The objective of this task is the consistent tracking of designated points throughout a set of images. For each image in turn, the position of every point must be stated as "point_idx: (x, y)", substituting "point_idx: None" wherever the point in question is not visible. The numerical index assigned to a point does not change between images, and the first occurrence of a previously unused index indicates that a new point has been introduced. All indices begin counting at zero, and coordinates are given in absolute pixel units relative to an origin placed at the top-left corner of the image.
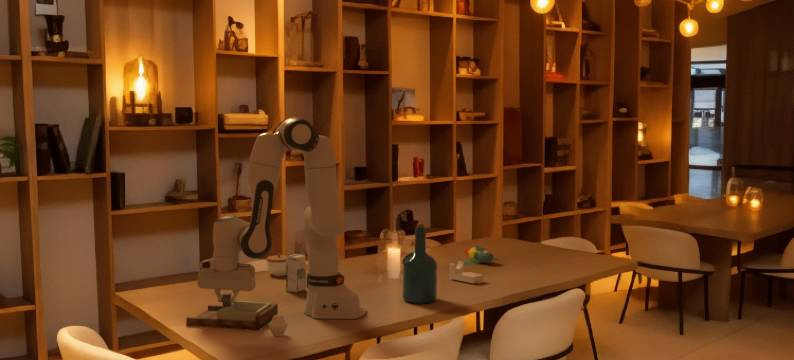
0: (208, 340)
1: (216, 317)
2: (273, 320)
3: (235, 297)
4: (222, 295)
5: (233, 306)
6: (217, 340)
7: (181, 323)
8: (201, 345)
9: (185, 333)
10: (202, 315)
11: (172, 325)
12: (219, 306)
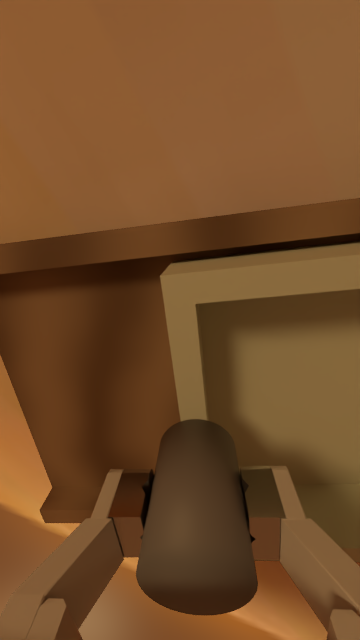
0: (265, 595)
1: (138, 405)
2: None
3: (304, 522)
4: (156, 592)
5: (200, 338)
6: (298, 592)
7: (25, 471)
8: (266, 627)
9: (136, 557)
10: (39, 394)
11: (15, 498)
12: (33, 269)
